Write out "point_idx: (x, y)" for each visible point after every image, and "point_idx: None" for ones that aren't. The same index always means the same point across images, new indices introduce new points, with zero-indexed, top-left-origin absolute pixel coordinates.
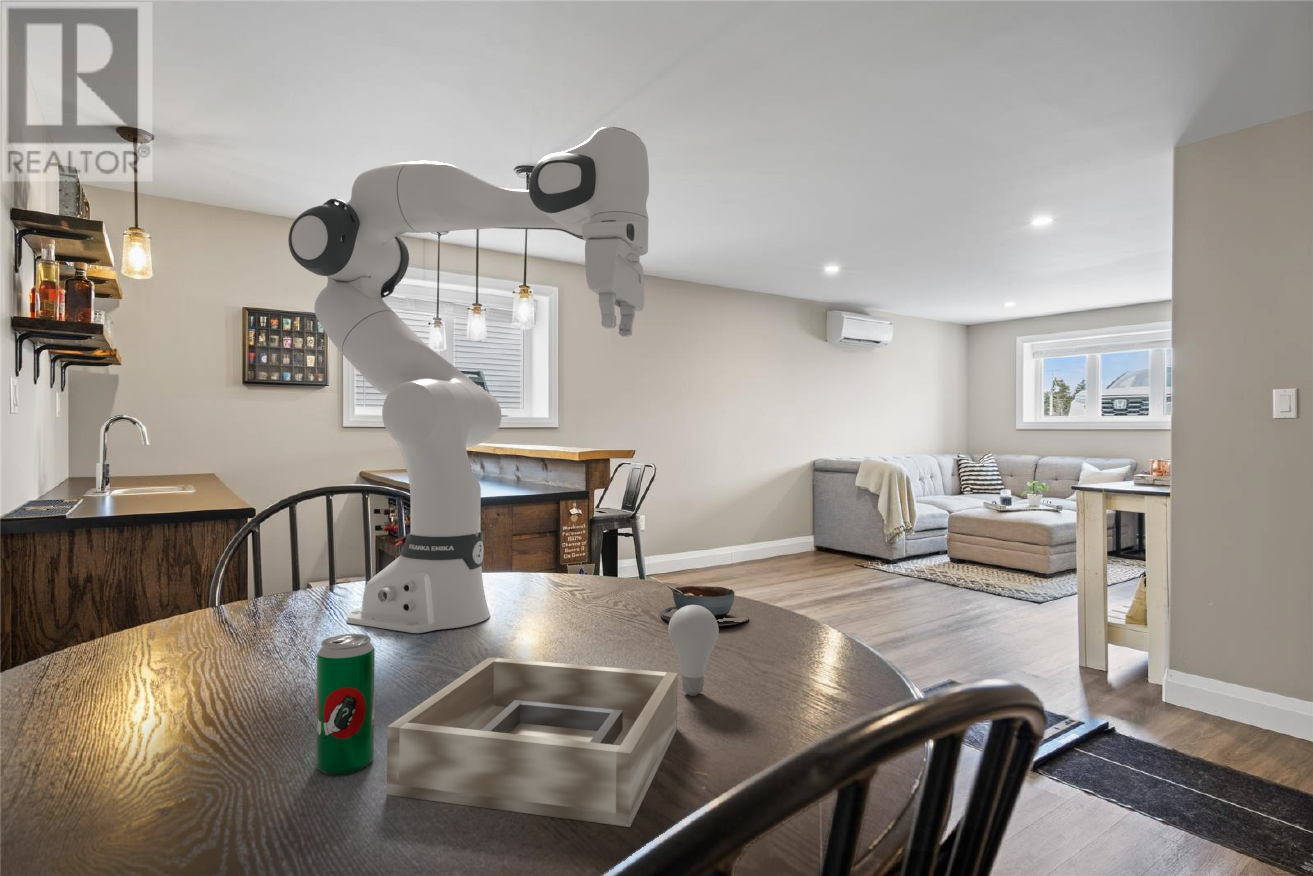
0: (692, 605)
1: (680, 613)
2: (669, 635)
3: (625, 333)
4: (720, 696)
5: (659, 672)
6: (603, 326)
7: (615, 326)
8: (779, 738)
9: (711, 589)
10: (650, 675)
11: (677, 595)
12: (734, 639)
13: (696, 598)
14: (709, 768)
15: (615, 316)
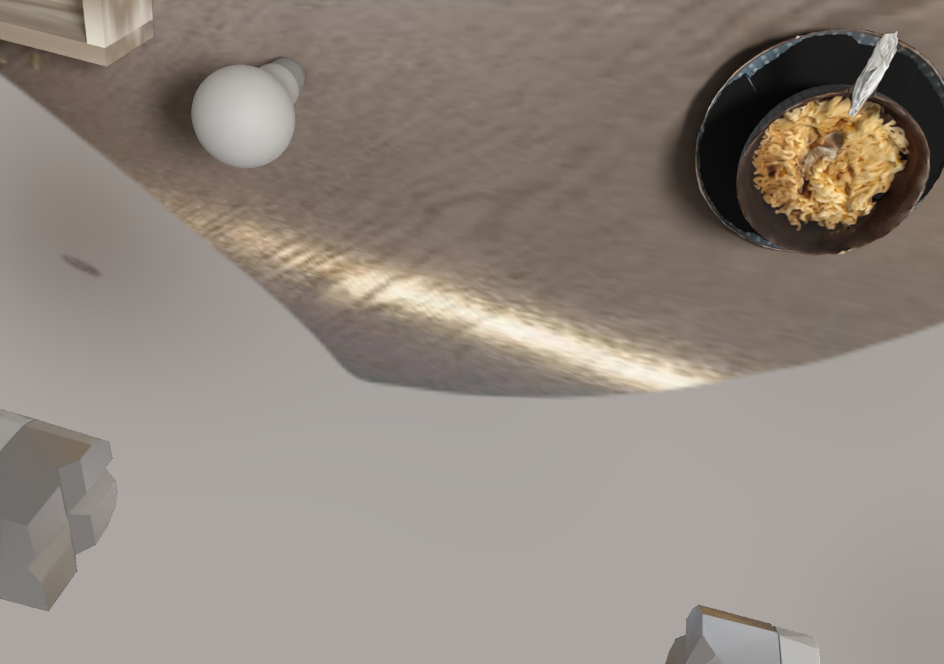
0: (222, 135)
1: (204, 105)
2: (224, 67)
3: (676, 656)
4: (300, 118)
5: (99, 35)
6: (5, 413)
7: (107, 517)
8: (165, 176)
9: (906, 203)
10: (85, 19)
11: (797, 101)
12: (645, 192)
13: (744, 150)
14: (51, 73)
15: (24, 594)
